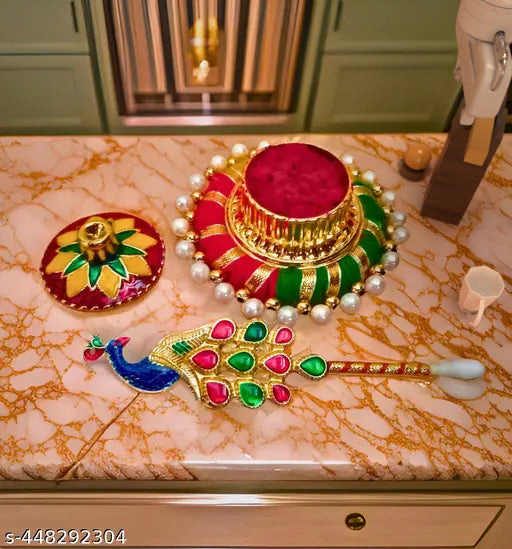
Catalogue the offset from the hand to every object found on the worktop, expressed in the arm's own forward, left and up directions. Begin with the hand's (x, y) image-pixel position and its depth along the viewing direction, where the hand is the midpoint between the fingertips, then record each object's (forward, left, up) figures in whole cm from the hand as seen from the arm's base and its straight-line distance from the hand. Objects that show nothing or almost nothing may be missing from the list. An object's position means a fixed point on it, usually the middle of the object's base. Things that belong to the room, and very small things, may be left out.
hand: (462, 99), depth 84 cm
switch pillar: (-13, -6, -37) cm, 39 cm away
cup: (-3, +17, -37) cm, 41 cm away
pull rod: (-10, -2, -12) cm, 16 cm away
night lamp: (-13, -17, -37) cm, 42 cm away
